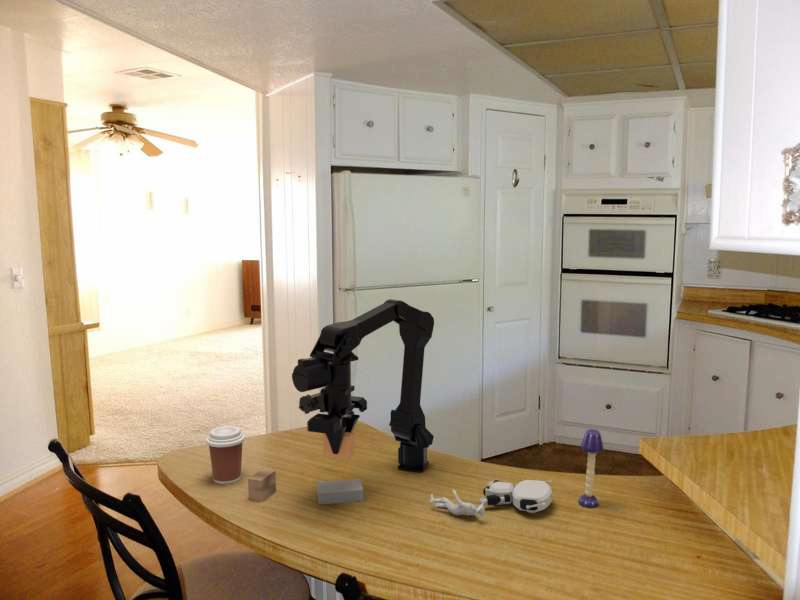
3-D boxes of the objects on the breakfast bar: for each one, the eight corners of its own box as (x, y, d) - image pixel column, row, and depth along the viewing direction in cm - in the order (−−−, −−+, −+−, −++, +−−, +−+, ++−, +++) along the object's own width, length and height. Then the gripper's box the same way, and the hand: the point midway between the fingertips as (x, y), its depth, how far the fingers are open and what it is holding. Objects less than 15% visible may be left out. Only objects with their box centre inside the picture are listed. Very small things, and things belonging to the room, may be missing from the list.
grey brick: (360, 491, 146) (360, 478, 146) (363, 502, 140) (363, 489, 140) (317, 494, 145) (316, 482, 144) (318, 506, 139) (318, 493, 138)
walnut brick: (263, 488, 147) (262, 468, 146) (276, 491, 146) (275, 470, 145) (248, 499, 141) (247, 478, 141) (261, 502, 140) (261, 480, 139)
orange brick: (354, 454, 142) (354, 432, 141) (348, 459, 139) (347, 437, 138) (330, 451, 144) (330, 429, 143) (323, 456, 141) (323, 434, 140)
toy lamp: (602, 501, 139) (605, 429, 137) (599, 510, 135) (602, 435, 133) (580, 497, 141) (582, 426, 139) (576, 506, 137) (579, 432, 135)
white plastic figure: (444, 505, 141) (493, 500, 134) (442, 526, 137) (492, 522, 131) (426, 490, 136) (476, 484, 130) (423, 511, 133) (474, 506, 127)
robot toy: (477, 515, 135) (549, 522, 130) (476, 495, 135) (548, 500, 130) (489, 492, 147) (555, 497, 142) (488, 473, 146) (554, 477, 141)
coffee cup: (216, 489, 146) (214, 440, 145) (201, 477, 153) (199, 429, 152) (253, 479, 152) (251, 431, 150) (236, 467, 159) (235, 421, 157)
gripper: (324, 370, 150) (325, 433, 152) (283, 390, 133) (286, 461, 135) (367, 373, 147) (368, 438, 149) (331, 395, 129) (333, 468, 131)
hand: (339, 450), depth 141 cm, fingers closed on orange brick, 3 cm apart
